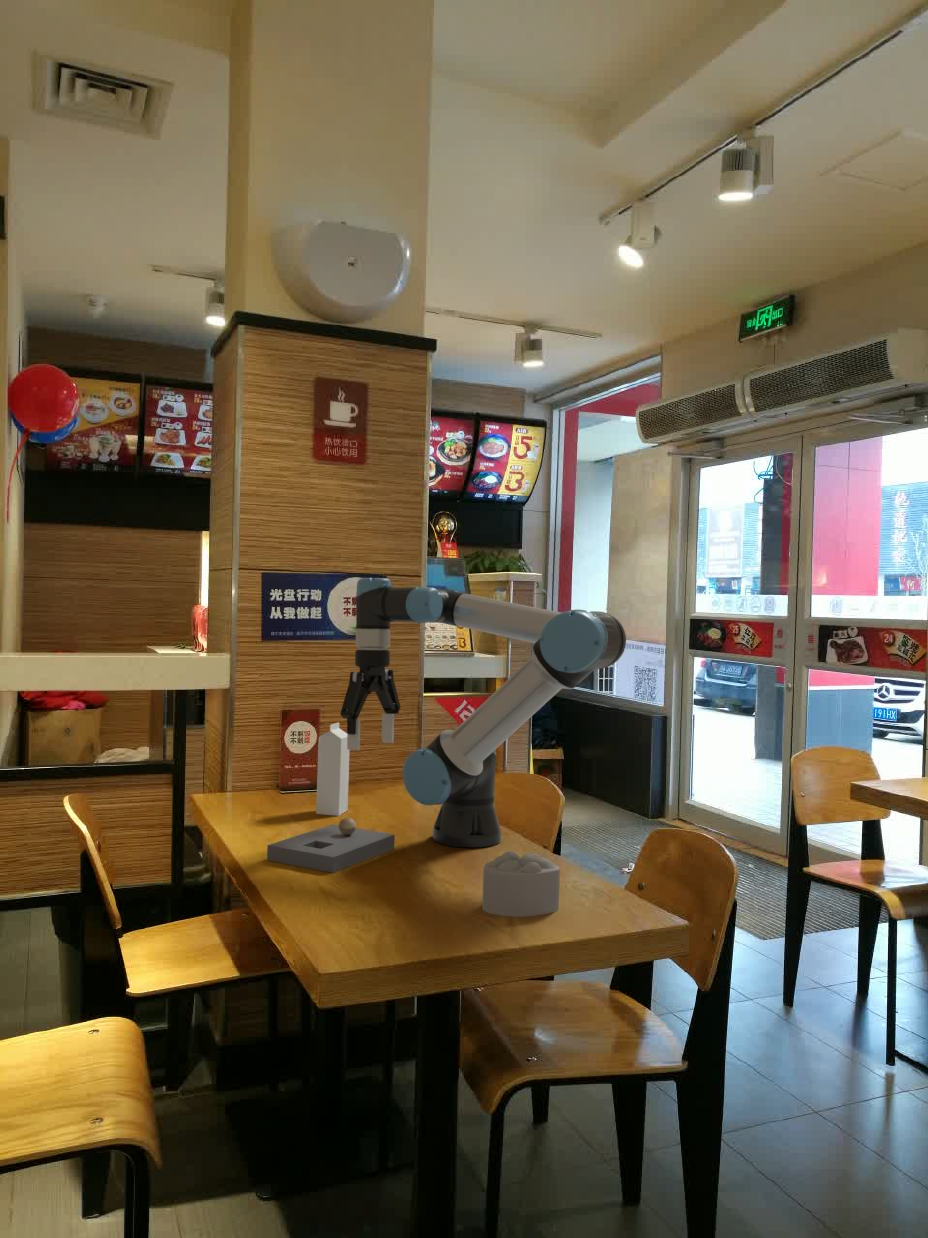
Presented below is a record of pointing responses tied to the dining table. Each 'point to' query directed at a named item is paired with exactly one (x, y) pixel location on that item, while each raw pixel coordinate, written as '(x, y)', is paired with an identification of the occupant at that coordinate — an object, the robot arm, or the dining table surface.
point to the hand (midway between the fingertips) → (371, 746)
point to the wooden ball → (347, 826)
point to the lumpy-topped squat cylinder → (520, 885)
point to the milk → (332, 772)
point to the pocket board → (330, 848)
